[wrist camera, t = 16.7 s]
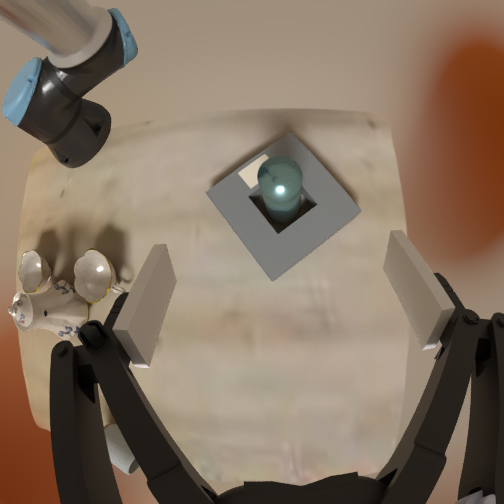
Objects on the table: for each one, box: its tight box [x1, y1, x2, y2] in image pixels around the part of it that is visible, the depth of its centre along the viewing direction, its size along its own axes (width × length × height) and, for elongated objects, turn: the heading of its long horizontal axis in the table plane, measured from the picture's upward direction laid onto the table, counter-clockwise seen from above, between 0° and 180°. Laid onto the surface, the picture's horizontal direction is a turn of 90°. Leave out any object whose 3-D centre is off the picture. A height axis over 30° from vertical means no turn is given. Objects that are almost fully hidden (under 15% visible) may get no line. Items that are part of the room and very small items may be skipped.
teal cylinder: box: [257, 156, 302, 223], centre depth 37 cm, size 5×5×12 cm
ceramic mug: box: [104, 423, 140, 475], centre depth 37 cm, size 11×8×8 cm
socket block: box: [206, 132, 361, 281], centre depth 41 cm, size 16×16×3 cm
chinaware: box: [8, 248, 126, 340], centre depth 38 cm, size 28×17×17 cm, turn 94°
